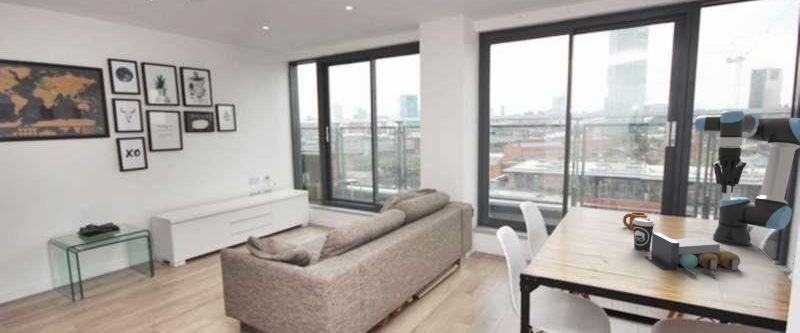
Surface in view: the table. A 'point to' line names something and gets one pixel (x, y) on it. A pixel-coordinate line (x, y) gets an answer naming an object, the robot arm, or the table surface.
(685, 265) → the roller
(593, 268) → the table surface
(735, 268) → the roller bed
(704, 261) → the roller
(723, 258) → the roller
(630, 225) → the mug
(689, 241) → the slab
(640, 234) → the coffee cup
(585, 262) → the table surface
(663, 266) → the block
